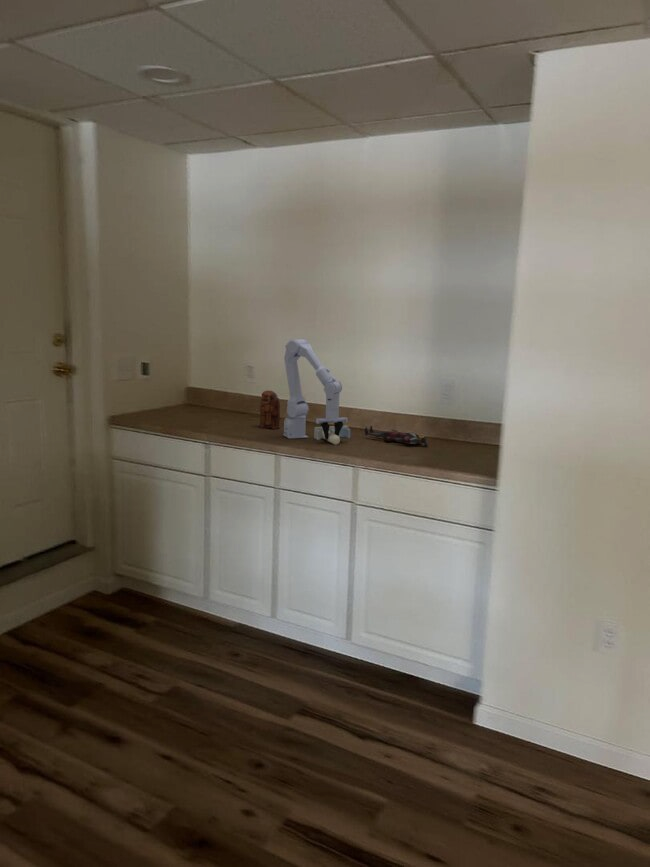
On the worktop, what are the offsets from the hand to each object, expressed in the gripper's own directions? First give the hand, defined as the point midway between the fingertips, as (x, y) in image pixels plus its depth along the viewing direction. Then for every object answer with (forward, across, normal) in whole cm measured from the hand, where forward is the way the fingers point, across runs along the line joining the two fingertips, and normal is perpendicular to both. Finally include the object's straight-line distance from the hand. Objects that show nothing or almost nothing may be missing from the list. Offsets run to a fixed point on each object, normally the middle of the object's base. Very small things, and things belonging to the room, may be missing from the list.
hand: (331, 438), depth 290 cm
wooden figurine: (+2, -17, +38) cm, 42 cm away
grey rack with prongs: (+1, +4, +6) cm, 8 cm away
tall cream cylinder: (+2, 0, +1) cm, 2 cm away
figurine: (+2, +29, -8) cm, 30 cm away
